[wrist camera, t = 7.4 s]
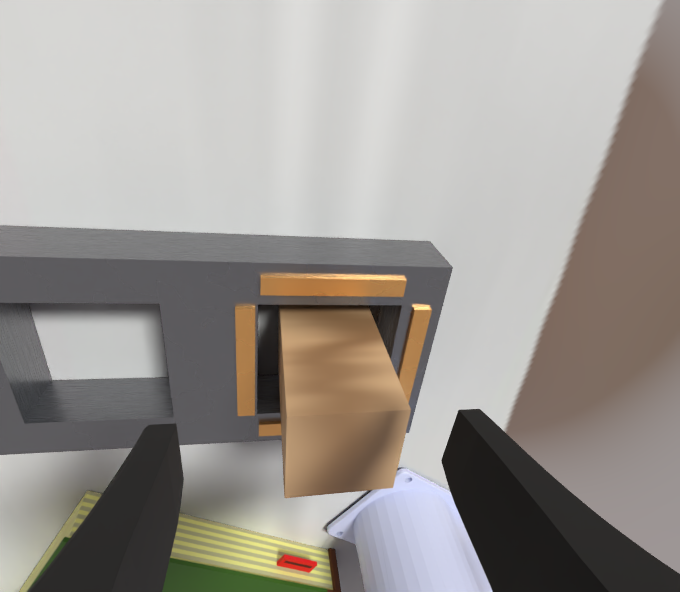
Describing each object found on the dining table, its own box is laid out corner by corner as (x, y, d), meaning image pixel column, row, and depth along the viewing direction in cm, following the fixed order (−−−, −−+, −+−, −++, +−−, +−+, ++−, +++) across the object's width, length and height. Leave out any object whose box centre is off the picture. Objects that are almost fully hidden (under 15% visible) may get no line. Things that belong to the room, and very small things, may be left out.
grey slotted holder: (430, 241, 20) (454, 269, 17) (394, 396, 25) (409, 435, 22) (-52, 223, 16) (-110, 255, 14) (19, 409, 21) (-14, 459, 19)
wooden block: (362, 292, 21) (410, 409, 14) (354, 358, 23) (392, 487, 16) (278, 293, 20) (286, 416, 13) (278, 361, 22) (284, 498, 16)
